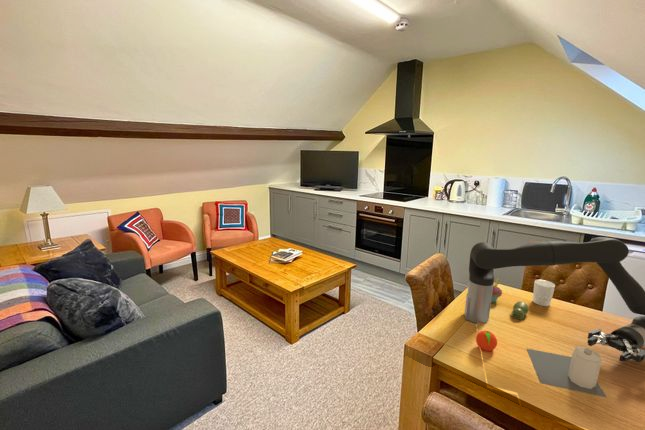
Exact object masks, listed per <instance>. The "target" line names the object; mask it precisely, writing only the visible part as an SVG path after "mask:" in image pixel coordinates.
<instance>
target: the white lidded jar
mask: <svg viewBox="0 0 645 430" xmlns="http://www.w3.org/2000/svg"><path fill="white" fill-rule="evenodd" d="M571 357H572V359H571V364H570V368H569V373H568V376H569V378H570V380H571V381H572V382H573V383H575V384H577V385H578V386H580V387H584V388H589V389H592V388H593V387H595V386H596V383H597V382H598V378H599V373H600V370H601V365H602V356H601V355H600V353H599V352H597V351H596V350H594V349H592V348H589V347H586V346H576V347H574V350H572V355H571Z"/></svg>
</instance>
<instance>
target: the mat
mask: <svg viewBox="0 0 645 430" xmlns="http://www.w3.org/2000/svg"><path fill="white" fill-rule="evenodd" d="M525 349H526V351H527V354H528V356H529V358H530V361H531V363H532V366H533V368H534V370H535V374H536V376H537V379H538V381H539V383H540V384H544V385H548V386H553V387H557V388H562V389H567V390H571V391H574V392H575V391H576V392H581V393H584V394H585V393H586V394H589V395H594V396H598V397H604V398H607V395H606V393H605V392H604V390H603V389H602V387H601V385H600V384H599V382H598V381H597V383H596V386H595V387H593V388H592V389H589V388H584V387H580V386H578V385H577V384H575V383H573V382H572V381H571V380H570V378H569V376H568V373H569V368H570V364H571V359H572V356H569V355H563V354H557V353H552V352H547V351H544V350H543V351H541V350H537V349H532V348H525Z"/></svg>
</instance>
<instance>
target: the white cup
mask: <svg viewBox="0 0 645 430" xmlns="http://www.w3.org/2000/svg"><path fill="white" fill-rule="evenodd" d="M555 287H556V284H555V283H554V282H552V281H549V280H546V279H545V280H544V279H535V280H534V285H533V293H532V294H533V296H532V302H533V303H534V304H536V305H539V306H542V307H549V306H550V305H551V302H552V299H553V295H554V291H555Z"/></svg>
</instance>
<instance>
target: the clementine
mask: <svg viewBox="0 0 645 430" xmlns="http://www.w3.org/2000/svg"><path fill="white" fill-rule="evenodd" d="M475 342H476V345H477V347H478V348H480V349H481V350H483V351H486V352H490V351H493V350H495V349H496V348H497V345H498V340H497V337H496V336H495V334H494V333H493V332H490V330H489V331H488V330H481V331H478V333H477V334H476V337H475Z"/></svg>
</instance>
